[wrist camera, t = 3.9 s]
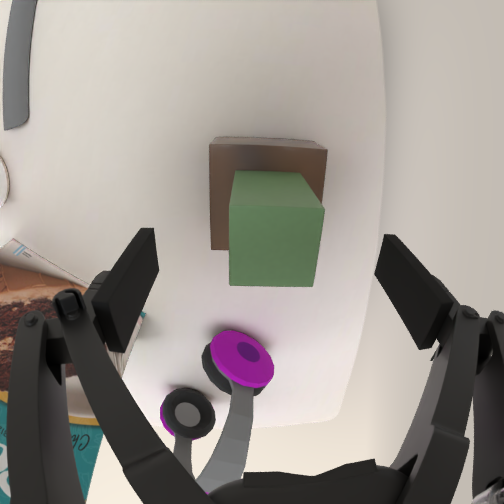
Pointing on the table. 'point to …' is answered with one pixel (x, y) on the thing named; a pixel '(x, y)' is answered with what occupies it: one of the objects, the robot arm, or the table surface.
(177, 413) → the headphones
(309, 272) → the green block
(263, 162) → the walnut block
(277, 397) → the table surface
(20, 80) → the gray half cylinder
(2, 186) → the mug
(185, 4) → the table surface
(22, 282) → the cake mix box
